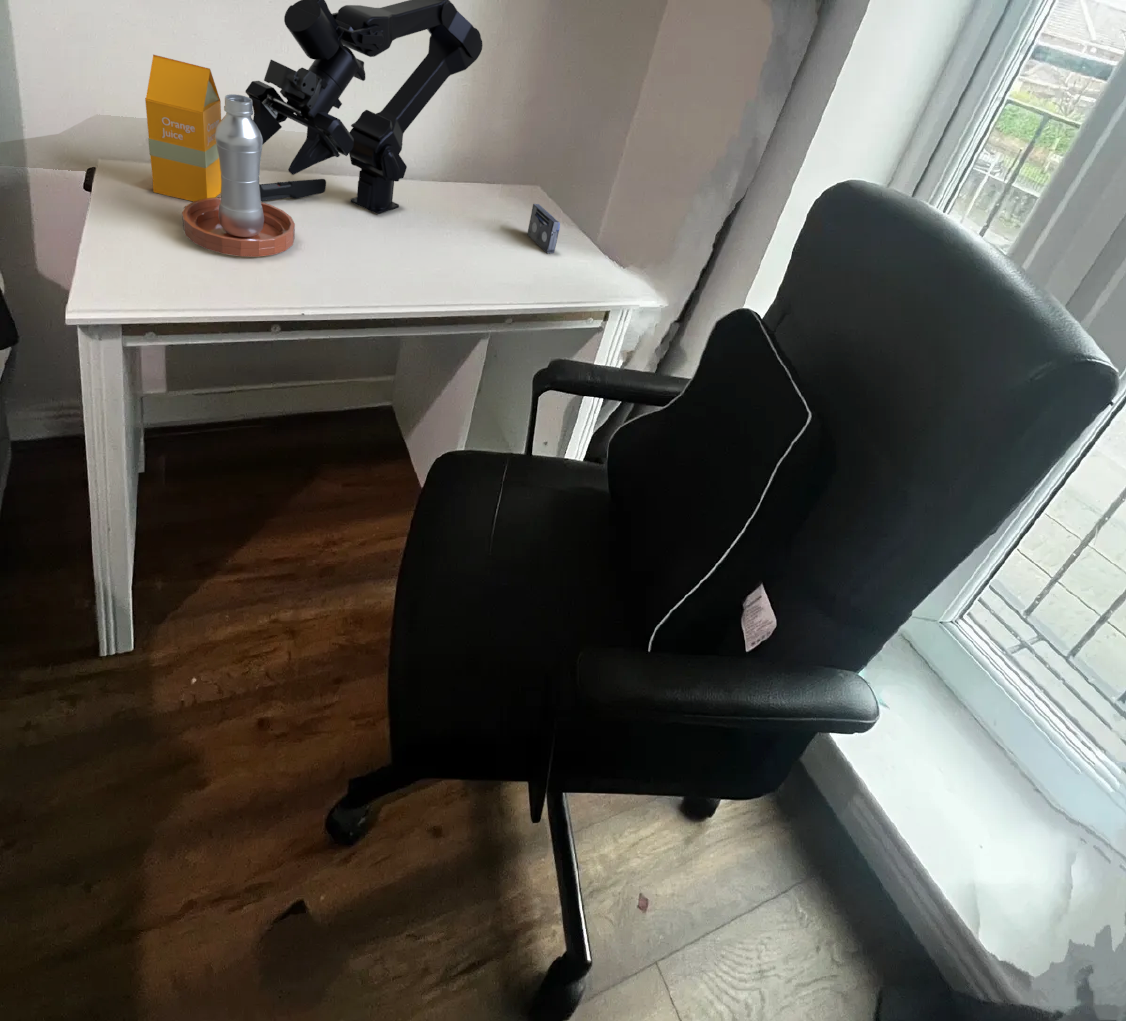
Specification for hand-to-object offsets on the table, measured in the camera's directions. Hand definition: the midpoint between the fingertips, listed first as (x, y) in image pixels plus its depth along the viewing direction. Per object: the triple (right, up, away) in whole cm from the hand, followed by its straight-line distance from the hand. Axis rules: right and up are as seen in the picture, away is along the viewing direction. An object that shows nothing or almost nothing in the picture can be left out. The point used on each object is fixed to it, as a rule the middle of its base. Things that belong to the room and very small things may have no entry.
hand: (269, 161), depth 127 cm
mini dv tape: (+41, -4, +28) cm, 50 cm away
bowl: (-6, -11, +3) cm, 12 cm away
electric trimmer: (-4, +1, +18) cm, 18 cm away
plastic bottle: (-5, -10, +3) cm, 12 cm away
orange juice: (-18, 0, +11) cm, 21 cm away
